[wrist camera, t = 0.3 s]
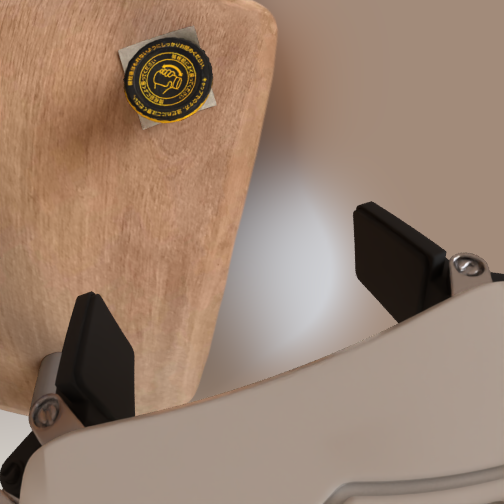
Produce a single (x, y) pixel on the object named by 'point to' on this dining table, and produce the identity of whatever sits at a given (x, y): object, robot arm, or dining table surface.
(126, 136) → the dining table surface
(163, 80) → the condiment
